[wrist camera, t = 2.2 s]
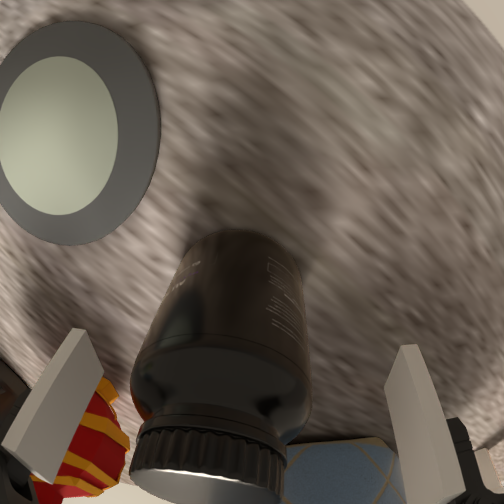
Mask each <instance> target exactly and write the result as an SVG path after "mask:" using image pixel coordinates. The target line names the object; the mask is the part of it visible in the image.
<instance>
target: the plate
mask: <svg viewBox="0 0 504 504" xmlns="http://www.w3.org/2000/svg"><path fill="white" fill-rule="evenodd" d="M159 145H160V112H159V104H158V99H157V95H156V91H155V87H154V84H153V82H152V79H151V77H150V74H149V72H148V70H147V68H146V66H145V64H144V63H143V61H142V59H141V57H140V56H139V55H138V54H137V52H136V51H135V50H134V49H133V47H132V46H131V45H130V44H129V43H127V42H126V41H125V40H124V39H123V38H122V37H121V36H119V35H118V34H116V33H114V32H113V31H111V30H109V29H107V28H104V27H102V26H99V25H96V24H93V23H87V22H82V21H65V22H59V23H54V24H51V25H48V26H45V27H43V28H41V29H39V30H37V31H35V32H33V33H32V34H30V35H29V36H27V37H26V38H25V39H23V40H22V41H21V42H20V43H19V44H18V45H17V46H16V47H15V48H13V50H12V51H11V52H10V53H9V54H8V55H7V57H6V58H5V59H4V61H3V62H2V64H1V65H0V204H1V205H2V207H3V208H4V209H5V211H6V212H7V213H8V214H9V216H10V217H11V218H12V219H13V220H14V221H15V222H16V223H17V224H18V225H19V226H21V227H22V228H23V229H25V230H26V231H27V232H29V233H30V234H32V235H34V236H36V237H37V238H39V239H42V240H44V241H47V242H50V243H54V244H58V245H68V246H72V245H82V244H86V243H91V242H93V241H96V240H98V239H101V238H103V237H104V236H106V235H108V234H109V233H111V232H112V231H114V230H115V229H116V228H117V227H118V226H119V225H121V224H122V223H123V222H124V221H125V220H126V219H127V218H128V217H129V215H130V214H131V213H132V212H133V211H134V210H135V209H136V207H137V206H138V204H139V203H140V201H141V200H142V198H143V196H144V194H145V192H146V190H147V188H148V186H149V184H150V182H151V179H152V176H153V173H154V170H155V167H156V162H157V158H158V154H159Z"/></svg>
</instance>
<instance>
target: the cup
mask: <svg viewBox="0 0 504 504" xmlns="http://www.w3.org/2000/svg"><path fill="white" fill-rule="evenodd" d="M474 454H475V457H476V460H477V463H478V467H479V470H480V474H481V477H482V481H483V483H484V485H485V487H486V488H487V489H489V490H491V491H492V492H493V493H498V494H501V493H504V486H502V484H501V481H500V479H499V476H498V473H497V471H496V468H495V466H494V463H493V461H492V459H491V456H490V454H489V451H488V449H487V448H483V449H480V450H477V451H475V452H474Z"/></svg>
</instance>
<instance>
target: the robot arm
mask: <svg viewBox="0 0 504 504" xmlns="http://www.w3.org/2000/svg"><path fill="white" fill-rule="evenodd" d="M103 374H104V370H103V367H102V365H101V363H100V361H99V359H98V357H97V354H96V352H95V350H94V348H93V345H92V343H91V341H90V338H89V336H88V333H87V331H86V330H83V329H77V328H72V330H71V331H70V333H69V334H68V335H67V337H66V338H65V340H64V341H63V343H62V344H61V346H60V347H59V349H58V350H57V352H56V353H55V355H54V356H53V358H52V359H51V361H50V362H49V364H48V365H47V367H46V368H45V370H44V372H43V373H42V375H41V376H40V378H39V379H38V381H37V383H36V384H35V386H34V387H33V389H32V390H31V389H29V388H27V386H26V385H25V384H24V383H23V382H22V381H21V380H20V379H19V378H18V376H17V375H16V374H15V373H14V372H13V371H12V370H11V369H10V368H9V367H8V366H6V365H5V364H4V363H3V362H2V361H1V360H0V504H39V501H38V498H37V495H36V491H35V488H34V484H33V481H32V479H31V477H30V474H31V472H32V473H33V474H34V475H35V476H37V477H38V478H39V479H41V480H43V481H45V482H48V483H50V484H52V485H53V482H54V480H55V477H56V475H57V473H58V470H59V468H60V465H61V463H62V461H63V458H64V456H65V454H66V452H67V449H68V447H69V445H70V443H71V440H72V438H73V436H74V434H75V432H76V429H77V427H78V425H79V423H80V421H81V419H82V417H83V414H84V412H85V410H86V408H87V406H88V404H89V402H90V400H91V398H92V396H93V394H94V392H95V390H96V388H97V386H98V384H99V382H100V380H101V378H102V376H103ZM384 392H385V396H386V400H387V404H388V408H389V413H390V417H391V421H392V426H393V430H394V435H395V440H396V445H397V450H398V455H399V460H400V465H401V471H402V476H403V482H404V488H405V494H406V501H407V504H504V493H501V494H498V493H493V492H492V491H491V490H489V489H487V488H486V487H485V485H484V483H483V481H482V477H481V474H480V470H479V467H478V463H477V460H476V457H475V454H474V450H472V448H473V447H472V444H471V441H469V439H470V438H469V435H468V432H467V429H466V427H465V426H464V424H463V423H462V422H461V421H460V419H459V418H458V417H456V418H451V419H445V416H444V413H443V410H442V407H441V404H440V402H439V399H438V396H437V393H436V390H435V388H434V385H433V382H432V380H431V377H430V374H429V372H428V369H427V367H426V364H425V362H424V359H423V357H422V354H421V352H420V349H419V347H418V345H417V344H410V345H401V346H400V348H399V351H398V354H397V356H396V359H395V361H394V364H393V366H392V369H391V371H390V374H389V376H388V378H387V381H386V383H385V385H384Z"/></svg>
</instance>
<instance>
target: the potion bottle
mask: <svg viewBox="0 0 504 504" xmlns="http://www.w3.org/2000/svg"><path fill="white" fill-rule="evenodd" d="M118 397H119V395H118V393H117V392H116V390H115V388H114V387H113V385H112V384H111V382H110V381H109V380H107V379H105V378H104V377H102V378H101V380H100V382H99V384H98V386H97V388H96V390H95V392H94V394H93V396H92V398H91V400H90V402H89V404H88V406H87V408H86V410H85V412H84V414H83V417H82V419H81V421H80V423H79V425H78V427H77V429H76V432H75V434H74V436H73V438H72V440H71V443H70V445H69V447H68V449H67V452H66V454H65V456H64V458H63V461H62V463H61V465H60V468H59V470H58V473H57V475H56V477H55V480H54V482H53V485H52V484H50V483H48V482H45V481H43V480H41V479H39V478H38V477H37V476H35V475H34V474H33V473H32V472H31V474H30V477H31V479H32V481H33V484H34V488H35V491H36V495H37V498H38V501H39V504H61V503H62V501H63V498H69V497H82V496H86V497H97V496H99V495H100V494H102V493H103V492H104V490H106V489H109V488H111V487H113V486H115V485H117V484H118V483H119V480H120V475H121V472H122V470H123V468H124V466H125V454H126V453H127V452H129V451H130V441H129V437H128V436H127V435H126V434H125V433H124V432H123V431H121V428H120V425H119V423H118V421H117V415H116V412H115V410H114V409H113V407H112V406H111V404H112V403H113V402H114V401H115V400H116V399H117V398H118ZM109 406H110V407H109ZM110 408H111V409H112V411H113V412H112V411H111V409H110ZM113 413H114V414H113Z"/></svg>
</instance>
